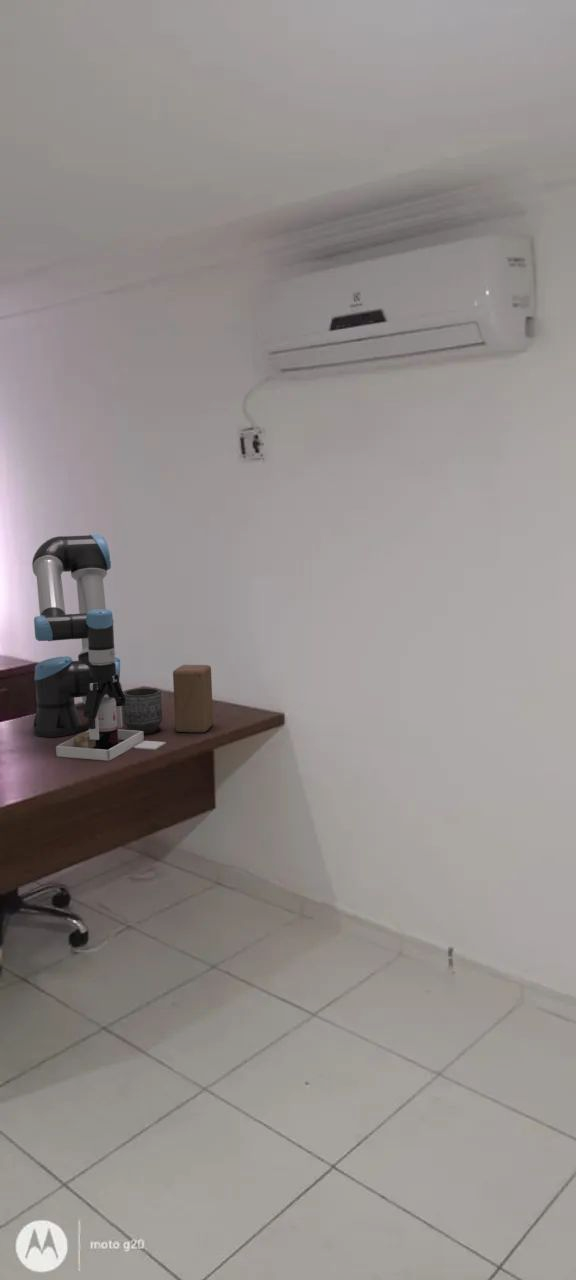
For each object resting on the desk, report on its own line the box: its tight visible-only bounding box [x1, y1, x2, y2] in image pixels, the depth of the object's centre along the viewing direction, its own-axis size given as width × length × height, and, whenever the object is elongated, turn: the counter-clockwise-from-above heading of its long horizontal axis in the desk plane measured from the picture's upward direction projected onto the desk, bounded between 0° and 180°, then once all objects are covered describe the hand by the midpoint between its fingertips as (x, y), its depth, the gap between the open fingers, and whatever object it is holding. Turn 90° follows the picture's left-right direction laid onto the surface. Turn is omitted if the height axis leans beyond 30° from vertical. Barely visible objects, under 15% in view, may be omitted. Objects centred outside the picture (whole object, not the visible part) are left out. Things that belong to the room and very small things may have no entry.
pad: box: [133, 740, 167, 751], centre depth 276 cm, size 7×7×1 cm
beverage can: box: [95, 697, 119, 750], centre depth 273 cm, size 6×6×15 cm
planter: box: [122, 687, 163, 735], centre depth 293 cm, size 12×12×13 cm
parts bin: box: [55, 728, 145, 761], centre depth 275 cm, size 17×21×3 cm
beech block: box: [75, 732, 96, 749], centre depth 276 cm, size 4×4×4 cm
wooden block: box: [172, 664, 214, 734], centre depth 293 cm, size 10×10×20 cm
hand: (106, 733), depth 274 cm, fingers open, 13 cm apart
